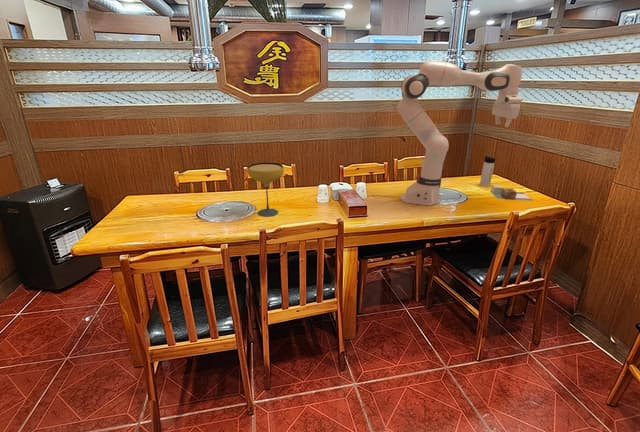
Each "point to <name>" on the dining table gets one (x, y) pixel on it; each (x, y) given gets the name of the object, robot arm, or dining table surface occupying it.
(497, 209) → the dining table surface
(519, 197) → the build board
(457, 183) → the dining table surface
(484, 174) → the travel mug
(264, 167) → the cocktail glass
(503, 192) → the walnut block
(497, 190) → the sage block
